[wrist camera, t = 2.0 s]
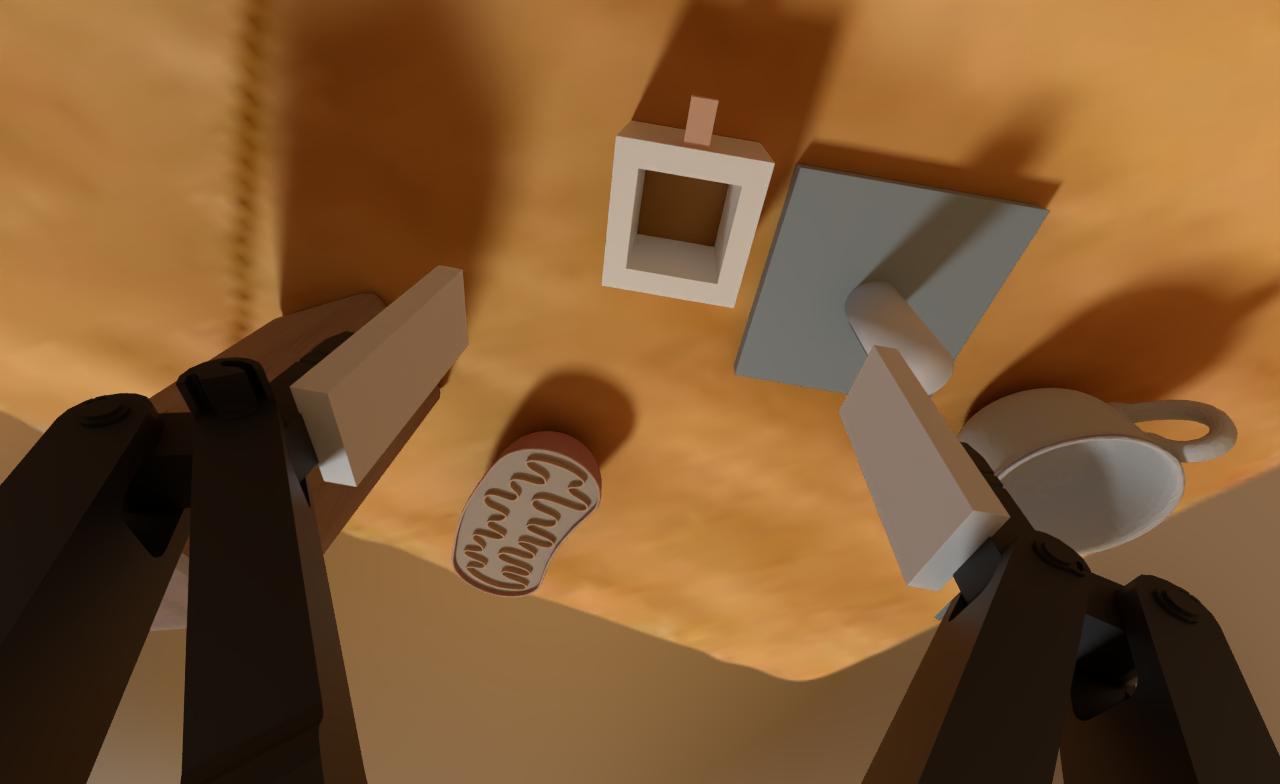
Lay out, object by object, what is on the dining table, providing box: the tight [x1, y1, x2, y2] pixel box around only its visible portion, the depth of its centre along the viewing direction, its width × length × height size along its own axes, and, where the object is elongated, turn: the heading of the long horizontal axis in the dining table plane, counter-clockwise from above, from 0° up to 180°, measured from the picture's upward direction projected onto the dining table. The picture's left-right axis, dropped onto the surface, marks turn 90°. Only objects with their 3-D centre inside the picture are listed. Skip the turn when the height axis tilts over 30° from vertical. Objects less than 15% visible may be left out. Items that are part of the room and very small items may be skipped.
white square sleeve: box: [602, 94, 775, 308], centre depth 26 cm, size 9×7×6 cm
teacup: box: [957, 388, 1237, 555], centre depth 32 cm, size 14×11×8 cm
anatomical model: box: [451, 431, 602, 597], centre depth 44 cm, size 23×10×5 cm, turn 153°
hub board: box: [734, 163, 1050, 397], centre depth 27 cm, size 14×14×9 cm
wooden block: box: [149, 293, 440, 631], centre depth 30 cm, size 10×10×20 cm
